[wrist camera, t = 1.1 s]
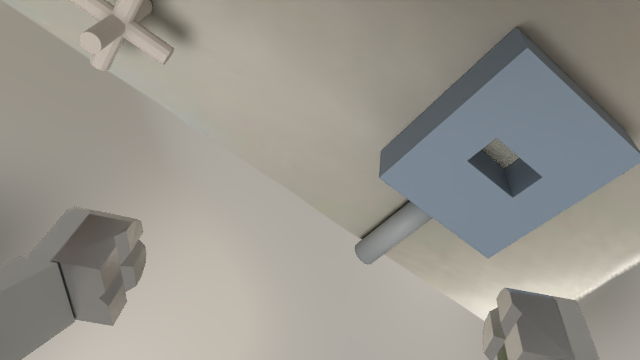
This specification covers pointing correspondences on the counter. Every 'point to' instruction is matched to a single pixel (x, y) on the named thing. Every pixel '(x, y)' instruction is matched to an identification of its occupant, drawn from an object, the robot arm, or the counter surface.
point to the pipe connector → (119, 31)
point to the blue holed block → (516, 134)
